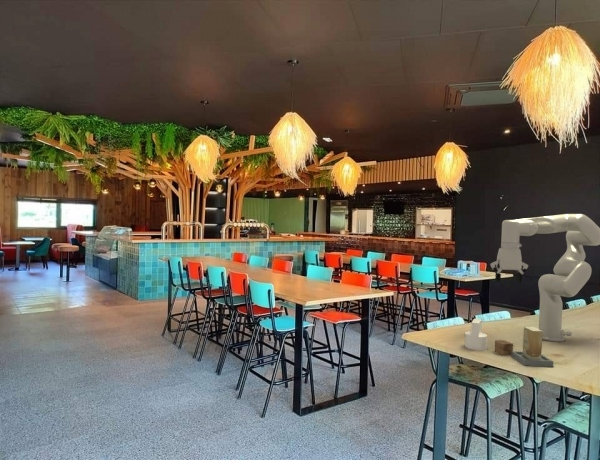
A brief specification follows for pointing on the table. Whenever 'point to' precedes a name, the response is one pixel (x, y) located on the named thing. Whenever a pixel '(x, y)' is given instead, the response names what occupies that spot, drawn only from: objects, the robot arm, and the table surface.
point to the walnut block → (503, 347)
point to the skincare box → (532, 343)
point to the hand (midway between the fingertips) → (508, 281)
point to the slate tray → (526, 361)
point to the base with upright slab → (476, 337)
